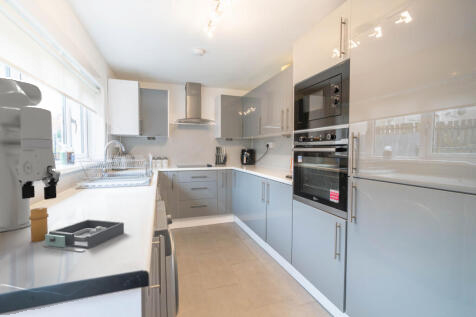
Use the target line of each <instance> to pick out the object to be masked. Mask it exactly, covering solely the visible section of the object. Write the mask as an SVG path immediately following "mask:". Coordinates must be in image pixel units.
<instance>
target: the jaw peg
mask: <svg viewBox="0 0 476 317" xmlns="http://www.w3.org/2000/svg"><path fill="white" fill-rule="evenodd" d="M48 218H49V213H48V207H36V208H32V209H31V208H30V216H29V220H31V226H30V241H31V243H38V242H42V241H45V235H46V234H49V230H48V228H49V227H48V224H49V223H48Z"/></svg>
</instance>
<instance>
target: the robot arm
mask: <svg viewBox="0 0 476 317" xmlns="http://www.w3.org/2000/svg"><path fill="white" fill-rule="evenodd" d="M42 99H43V91H42V89H41V88H40V86H39V85H38V84H36V83H33V82H29V81H25V80H21V79H16V78H12V77H5V76H0V233H1V232H9V231H16V230H19V229H24V228H28V227H31V220H29V216H30V210H31V200H30V199H33V198H35V195H36V193H35V185H34V182H39V181H42V183H43V184H44V186H43V198H44V200H46V201H47V200H53V199H56V198H57V186H58V182H59V181H60V177H61V172H60V171H59V170H57V169H56V161H55V155H54V149H53V147H54V146H53V145H54V144H53V122H52V121H53V117H52V112H51V110H50V109H49V108H46V107H42V106H37V105H39V104H40V103H41V101H42Z"/></svg>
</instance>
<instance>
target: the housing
mask: <svg viewBox="0 0 476 317" xmlns="http://www.w3.org/2000/svg"><path fill="white" fill-rule="evenodd" d="M124 228H125V223H124V222H120V221H109V220H98V219H85V220H82V221H78V222H76V223H72V224H69V225H65V226H63V227H60V228H57V229H54V230H50V231H48V234H50V235H59V236H65V247H58V246H51V245H45V244H44V245H42V247H43V248H48V249H49V248H50V249H56V250H61V251H63V250H64V251H70V252H77V253H84V252H86V249H92V248H95V247H96V246H98V245H101V244H103V243H105V242H107V241H110V240H112V239H113V238H116V237H118V236H120V235H122V234H124V233H125V229H124ZM68 246H69V247H68ZM82 248H83V249H82Z"/></svg>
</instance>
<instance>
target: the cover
mask: <svg viewBox="0 0 476 317" xmlns="http://www.w3.org/2000/svg"><path fill="white" fill-rule="evenodd" d="M44 243H45V244H44V245H51V246H58V247H66V245H65V236H59V235H50V234H49V233H48V234H46V235H45V240H44Z"/></svg>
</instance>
